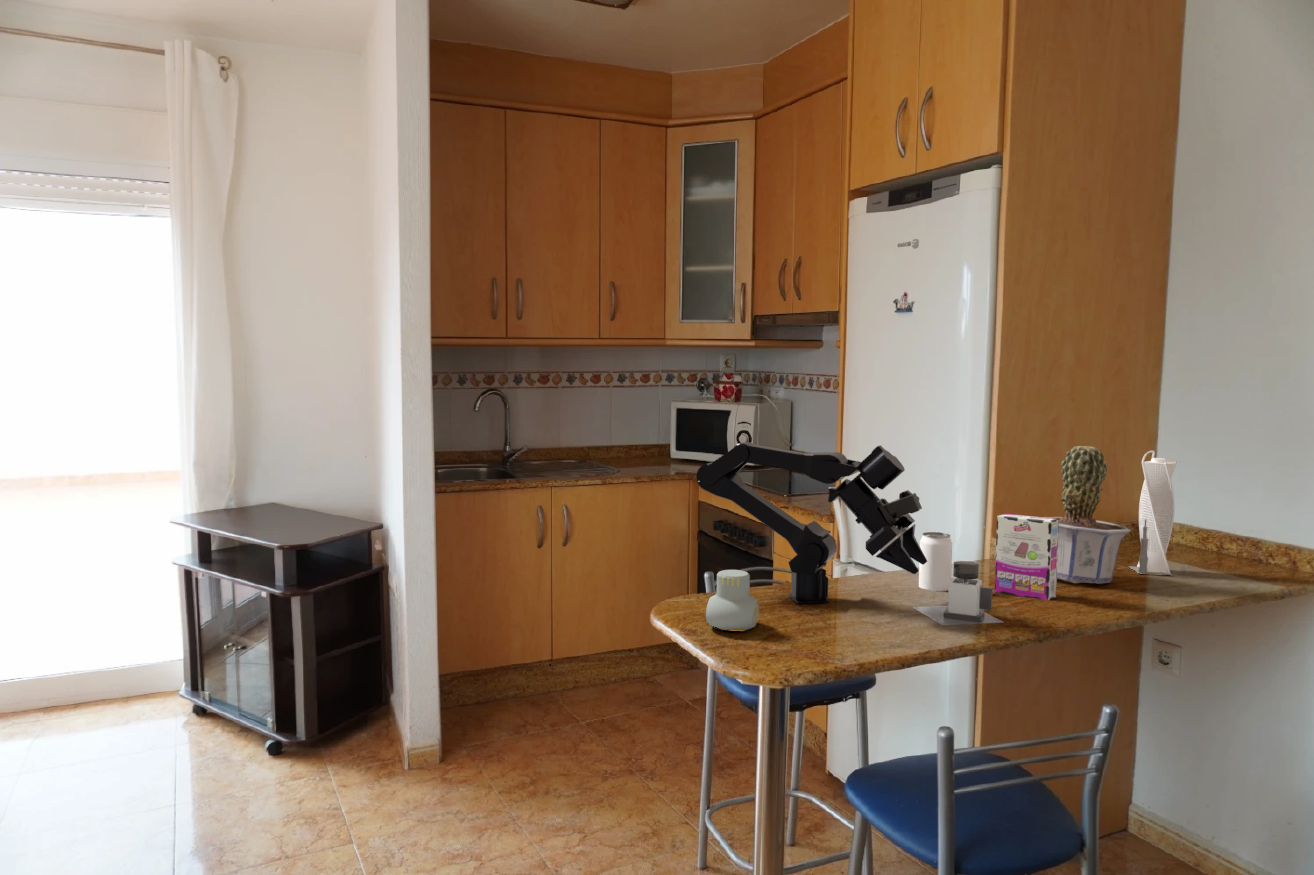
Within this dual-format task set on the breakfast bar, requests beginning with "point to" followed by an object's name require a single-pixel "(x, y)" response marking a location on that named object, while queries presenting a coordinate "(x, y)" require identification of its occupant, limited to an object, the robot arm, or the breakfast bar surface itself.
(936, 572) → the can
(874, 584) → the breakfast bar surface
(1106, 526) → the potted plant
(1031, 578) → the candy bar box
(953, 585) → the white square sleeve
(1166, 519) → the skyscraper
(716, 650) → the breakfast bar surface
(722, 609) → the air freshener
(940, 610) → the slate mat
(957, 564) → the plunger
